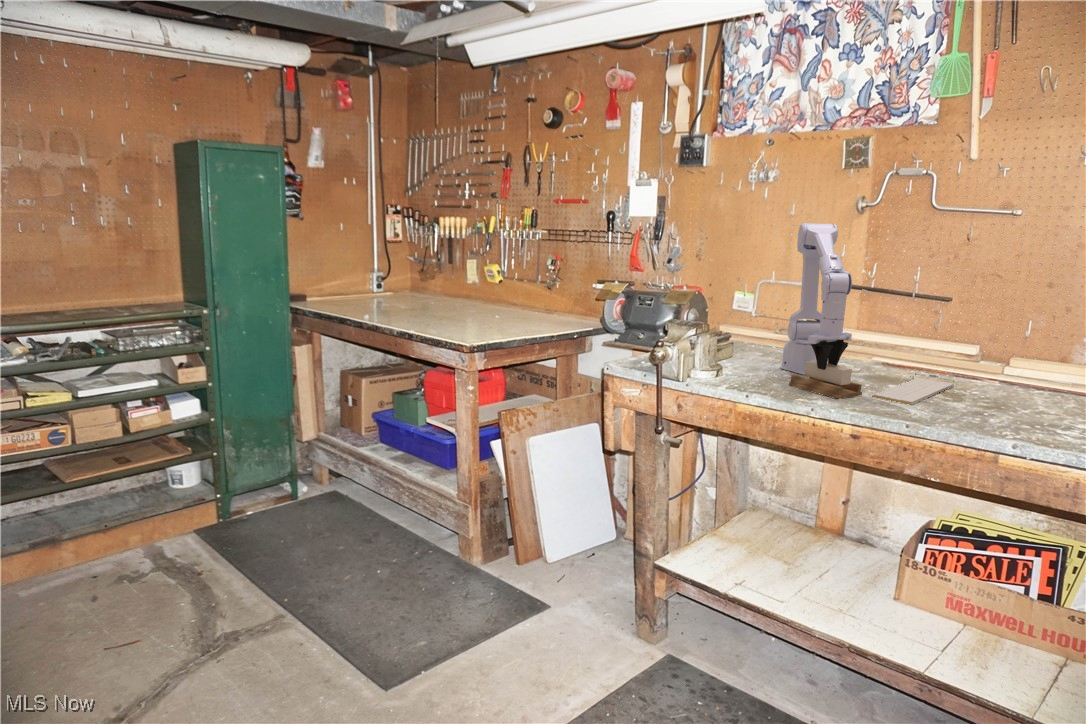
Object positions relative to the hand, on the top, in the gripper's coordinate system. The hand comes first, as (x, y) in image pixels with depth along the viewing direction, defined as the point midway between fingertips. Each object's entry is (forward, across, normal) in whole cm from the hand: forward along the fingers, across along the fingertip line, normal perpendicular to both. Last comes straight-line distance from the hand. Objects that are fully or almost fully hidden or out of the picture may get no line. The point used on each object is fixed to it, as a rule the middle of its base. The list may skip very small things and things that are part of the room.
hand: (826, 368), depth 185 cm
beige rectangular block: (+3, 0, 0) cm, 3 cm away
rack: (+6, 0, 0) cm, 6 cm away
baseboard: (+7, +22, -10) cm, 25 cm away
